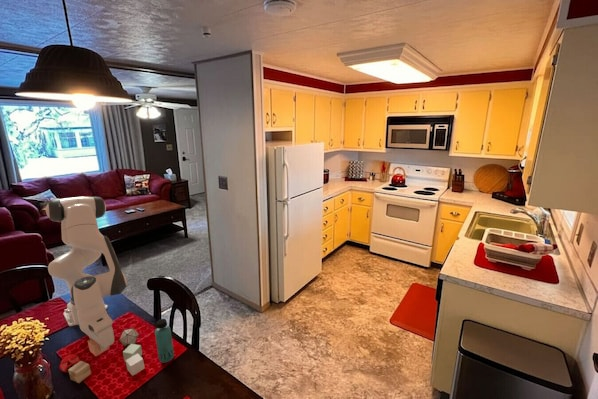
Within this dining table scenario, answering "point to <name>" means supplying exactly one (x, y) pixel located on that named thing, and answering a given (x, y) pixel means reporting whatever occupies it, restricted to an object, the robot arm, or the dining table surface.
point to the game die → (129, 337)
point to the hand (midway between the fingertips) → (99, 346)
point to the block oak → (79, 371)
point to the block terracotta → (95, 347)
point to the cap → (66, 360)
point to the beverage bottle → (164, 341)
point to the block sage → (132, 351)
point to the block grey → (135, 364)
